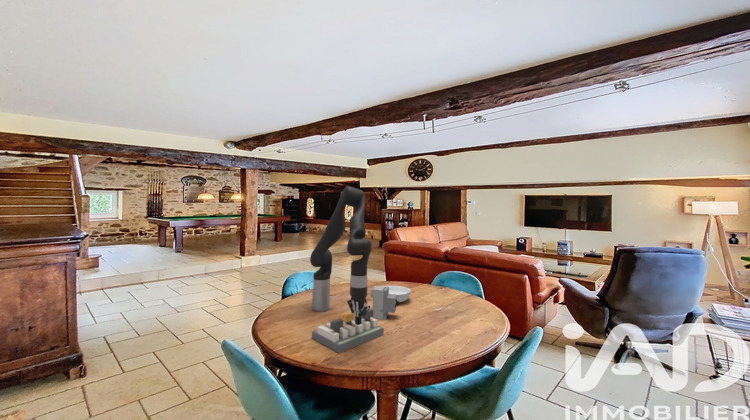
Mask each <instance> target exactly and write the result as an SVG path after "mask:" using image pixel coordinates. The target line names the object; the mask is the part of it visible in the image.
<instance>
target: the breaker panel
mask: <svg viewBox="0 0 750 420" xmlns="http://www.w3.org/2000/svg"><path fill="white" fill-rule="evenodd" d="M372 317H373V310H372V309H371V308H370V309H369V310H368V312H367V313H366V314H365V315H364V316H362V323H361V324H360V325H357V324H355V320H352V321H351V326H350V325H348V324H346V322H344V321H343V318H337V319H334V320H330V321H329V322H327V323H326V324H325V326H324V325H323V324H321V325H319V326H317V329H316V330H312V331H311V338H312V339H313V340H315V341H316V340H317V341H316V342H318V341H319V342H318V343H320V344H321V345H323V344H324V346H325V347H327V348H329V349H330V350H332V351H335V352H337V353H338V354H340V353H342V352H345V351H348V350H350V349H353V348H354V347H356V346H359V345H362V344H364V343H366V342H369V341H371V340H374V339H377V338H378V337H381V336H383V335H384V331H385V330H384V327H382V326H380V325H378V321H379V320H378V319H376V318H372Z"/></svg>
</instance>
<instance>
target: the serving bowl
mask: <svg viewBox="0 0 750 420" xmlns="http://www.w3.org/2000/svg"><path fill="white" fill-rule="evenodd" d="M384 286H385V287H389V294H397V301H399V303H402V302H405V301H406V300H408V299H409V298H410V295H411V291H412V290H411V289H410V288H408V287H406V286H400V285H384Z"/></svg>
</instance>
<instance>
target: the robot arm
mask: <svg viewBox="0 0 750 420" xmlns="http://www.w3.org/2000/svg"><path fill="white" fill-rule="evenodd" d="M365 205H366V195H365V192H364V191H363V190H362V189H359V188H356V187H353V186H348V185H346V186H345V187H344V188H343V190H342V192H341V194H340V196H339V199H338V202H337V204H336V207H335V210H334V212H333V214H332V215H331V217H330V219H329V221H328V223H327V225H326V226H325V229H324V231H323V234H322V235H321V238H320V239H319V241H318V242H317V244H316V246H315V247H314V249H313V250H312V252H311V254H310V256H309V257H310V258H309V259H310V260H309V261H310V265H311V266H312V267H314V268H318V270H317V271H315V272H314V273H313V277H312V278H313V280H312V284H313V286H312V287H313V290H312V294H311V295H312V296H311V297H312V299H311V300H312V301H311V302H312V304H311V307H312V310H313V311H315V312H326V311H329V310H330V309H331V308H330V307H331V275H332V270H333V269H332V267H333V254H332V251H331V250H330V248H331V247H332V246H333V245H335V244H336V243H337V242H338V241H339V240H340V239H341V238H342V236H343V234H344V232H345V230H346V225H347V224H346V218H345V214H344V213H345V212H344V211H345V209H346V207H347V206H349V207H352V208H356V211H355V212H354V214H353V215H352V216H351V217H350V220H349V225H348V226H349V239H348V243H347V246H346V251H347V253H348V254H349V256H361V258H359V259H355V260H353V261H351V263H350V278H349V279H350V280H349V282H350V283H349V295H350V299H348V300H347V301H346V303H347V305H348V307H349V310H350V312H352V313H354V315H355V324H357V325H360V324H361V323H362V316H364V315H365V314H366V313H367V312H368V310H369V309H371V305H368V303H367V304H366V301H367V297H368V283H369V282H368V262H369V258H370V255H371V252H372V248H373V246H372V242H371V241H370V239H369V238H365V237H366V225H365V211H366V210H365V208H366V206H365Z"/></svg>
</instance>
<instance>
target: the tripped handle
mask: <svg viewBox="0 0 750 420" xmlns="http://www.w3.org/2000/svg"><path fill="white" fill-rule="evenodd" d="M342 319H343V321H344V322H346V324H348V325H350V326H351V321H352V320H355V315H354V313H352V312H351V311H350V312H346V313H343V314H342Z"/></svg>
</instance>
